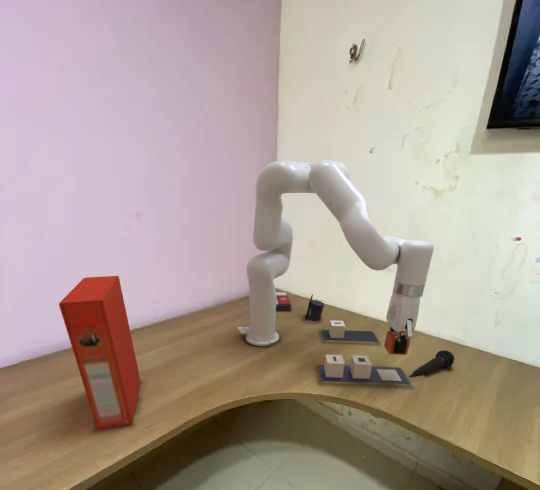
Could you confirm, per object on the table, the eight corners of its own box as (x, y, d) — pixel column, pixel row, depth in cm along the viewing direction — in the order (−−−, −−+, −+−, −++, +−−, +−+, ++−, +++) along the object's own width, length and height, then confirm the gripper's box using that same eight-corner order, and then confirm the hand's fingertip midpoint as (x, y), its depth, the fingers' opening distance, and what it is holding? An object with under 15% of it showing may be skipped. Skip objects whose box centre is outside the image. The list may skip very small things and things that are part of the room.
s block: (389, 354, 88) (392, 338, 86) (384, 346, 93) (387, 330, 91) (406, 354, 88) (410, 339, 86) (400, 346, 93) (404, 331, 91)
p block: (352, 378, 92) (355, 363, 90) (349, 369, 97) (351, 355, 95) (369, 378, 92) (372, 364, 90) (365, 369, 97) (368, 355, 95)
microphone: (411, 390, 94) (452, 367, 102) (419, 379, 90) (461, 355, 98) (398, 377, 97) (439, 355, 105) (404, 366, 93) (447, 344, 101)
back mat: (324, 342, 115) (324, 340, 114) (321, 331, 123) (321, 329, 122) (378, 344, 114) (378, 342, 114) (372, 333, 122) (372, 331, 122)
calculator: (267, 303, 139) (264, 291, 152) (266, 312, 141) (264, 299, 154) (291, 303, 140) (286, 291, 153) (290, 312, 142) (286, 299, 155)
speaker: (300, 319, 133) (304, 296, 128) (306, 315, 137) (311, 293, 132) (315, 325, 129) (320, 302, 124) (322, 321, 133) (327, 299, 129)
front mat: (321, 383, 91) (321, 380, 91) (318, 367, 99) (318, 364, 99) (410, 387, 91) (410, 384, 90) (399, 370, 99) (400, 367, 98)
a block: (330, 337, 116) (331, 325, 114) (328, 332, 120) (329, 320, 118) (343, 338, 116) (345, 326, 114) (341, 332, 120) (343, 320, 118)
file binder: (96, 429, 73) (58, 302, 59) (110, 386, 88) (83, 277, 74) (132, 424, 75) (104, 299, 61) (141, 383, 90) (120, 275, 76)
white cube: (325, 377, 93) (327, 362, 90) (323, 368, 97) (325, 354, 95) (342, 377, 92) (344, 363, 90) (339, 368, 97) (341, 354, 95)
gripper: (384, 279, 90) (374, 334, 98) (405, 299, 75) (391, 363, 83) (410, 279, 90) (398, 335, 98) (437, 300, 75) (420, 364, 82)
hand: (395, 347), depth 90 cm, fingers closed on s block, 5 cm apart
